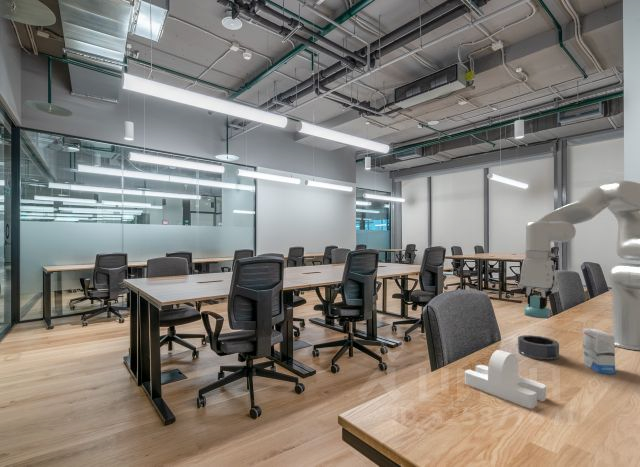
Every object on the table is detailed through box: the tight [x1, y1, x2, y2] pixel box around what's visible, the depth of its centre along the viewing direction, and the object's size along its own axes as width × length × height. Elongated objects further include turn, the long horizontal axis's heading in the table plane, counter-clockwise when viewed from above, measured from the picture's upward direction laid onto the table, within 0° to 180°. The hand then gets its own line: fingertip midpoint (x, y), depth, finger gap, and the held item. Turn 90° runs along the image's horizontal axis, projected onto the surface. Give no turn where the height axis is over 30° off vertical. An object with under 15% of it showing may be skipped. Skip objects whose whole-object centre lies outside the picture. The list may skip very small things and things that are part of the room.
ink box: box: [582, 328, 616, 375], centre depth 109 cm, size 9×5×12 cm, turn 168°
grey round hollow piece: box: [517, 334, 560, 362], centre depth 122 cm, size 12×12×5 cm
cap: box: [524, 294, 550, 319], centre depth 122 cm, size 8×8×7 cm
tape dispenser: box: [464, 349, 547, 409], centre depth 94 cm, size 10×18×11 cm, turn 36°
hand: (537, 307), depth 122 cm, fingers closed on cap, 3 cm apart
